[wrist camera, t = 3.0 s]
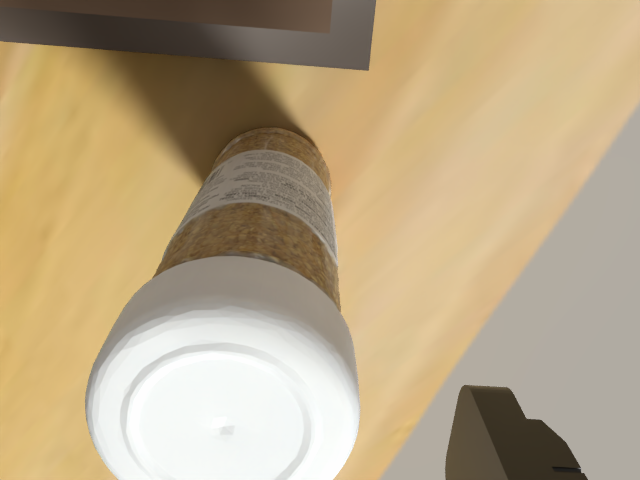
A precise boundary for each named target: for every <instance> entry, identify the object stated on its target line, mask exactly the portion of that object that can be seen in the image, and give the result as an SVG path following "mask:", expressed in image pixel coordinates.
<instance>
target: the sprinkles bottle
mask: <svg viewBox="0 0 640 480" xmlns="http://www.w3.org/2000/svg"><path fill="white" fill-rule="evenodd" d="M337 270H338V258H337V239H336V230H335V222H334V213H333V206H332V202H331V179H330V174H329V171H328V168H327V166H326V164H325V161H324V160H323V158H322V156H321V154H320V152H319V151H318V149H316V148H315V147H314V146H313V145H311V144H310V143H309V142H308V141H307V140H306V139H305V138H303V137H301V136H299V135H298V134H296V133H294V132H291V131H288V130H285V129H281V128H277V127H275V128H259V129H255V130H250V131H248V132H246V133H243V134H241V135H239V136H237V137H236V138H234V139H233V140H231V141H230V142H229V143H228V144H227V146H226V147H225V148H224V149H223V150H222V151H221V152H220V154H219V156H218V157H217V158H216V160H215V162H214V165H213V167H212V172H211V173H210V175H209V176H208V177H207V179H206V180H205V182H204V183H203V185H202V187H201V189H200V190H199V192H198V194H197V195H196V197H195V199H194V201H193V202H192V204H191V206H190V208H189V209H188V211H187V213H186V215H185V217H184V218H183V220H182V222H181V224H180V225H179V227H178V229H177V230H176V232H175V234H174V235H173V237H172V239H171V240H170V242H169V244H168V246H167V248H166V250H165V252H164V255H163V258H162V261H161V263H160V265H159V267H158V269H157V271H156V273H155V275H154V276H153V278H152V279H151V280H150V281H149V282H147V283H146V284H144V285H143V286H142V287H141V288H140V289H139V290H138V291H137V292H136V293H135V294H134V295H133V297H132V298H131V299H130V300H129V302H128V303H127V304H126V306H125V307H124V309H123V310H122V312H121V314H120V315H119V317H118V319H117V321H116V322H115V324H114V326H113V327H112V329H111V331H110V333H109V335H108V337H107V339H106V341H105V342H104V344H103V346H102V348H101V350H100V352H99V354H98V356H97V358H96V360H95V362H94V364H93V367H92V370H91V373H90V376H89V380H88V385H87V389H86V397H85V410H86V420H87V424H88V428H89V433H90V435H91V438H92V441H93V443H94V446H95V448H96V450H97V452H98V453H99V455H100V457H101V458H102V460H103V461H104V463H105V464H106V466H107V467H108V468H109V470H110V471H111V472H112V473H113V474H114V475H115V476H116V478H117V479H118V480H332V479H333V478H334V477H335V476H336V475H337V474H338V472H339V471H340V470H341V468H342V467H343V466H344V464H345V462H346V460H347V459H348V457H349V455H350V453H351V451H352V449H353V446H354V443H355V440H356V437H357V433H358V428H359V420H360V399H359V385H358V374H357V367H356V359H355V352H354V346H353V341H352V337H351V334H350V331H349V328H348V326H347V324H346V322H345V320H344V318H343V316H342V315H341V306H340V297H339V295H340V294H339V287H338V273H337Z"/></svg>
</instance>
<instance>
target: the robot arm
mask: <svg viewBox="0 0 640 480" xmlns="http://www.w3.org/2000/svg"><path fill="white" fill-rule="evenodd" d="M445 471H446V472H445V473H446V480H588V479H587V477H586V476H585V474H584V473H581V467H580V466H579V464H578V462H577V461H576V459H575V457H574V455H573V454H572V452H571V450H570V448H569V447H568V445H567V443H566V442H565V441H564V440H563V439H562V438H561V437H559V436H558V435H557V434H556V433H555V432H554V431H553V430H552V429H550V428H549V427H548V426H547V425H546V424H545V423H544V422H543V421H542V420H535V419H526V417H525V415H524V413H523V411H522V410H521V407H520V406H519V404H518V402H517V400H516V398H515V396H514V394H513V392H512V391H511V390H510V389H509V388H507V387H490V386H472V385H471V386H470V385H464V386H463V387H462V388H461V390H460V393H459V396H458V401H457V406H456V411H455V416H454V421H453V426H452V431H451V436H450V441H449V445H448V450H447V456H446V467H445Z"/></svg>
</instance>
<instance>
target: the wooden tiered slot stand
mask: <svg viewBox="0 0 640 480" xmlns="http://www.w3.org/2000/svg"><path fill="white" fill-rule="evenodd" d="M375 5H376V0H0V41H4V42H16V43H29V44H42V45H54V46H67V47H79V48H92V49H104V50H117V51H129V52H142V53H154V54H167V55H180V56H192V57H205V58H217V59H230V60H242V61H255V62H267V63H280V64H292V65H305V66H318V67H330V68H343V69H355V70H368V71H369V61H370V52H371V43H372V33H373V24H374V14H375Z"/></svg>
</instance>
